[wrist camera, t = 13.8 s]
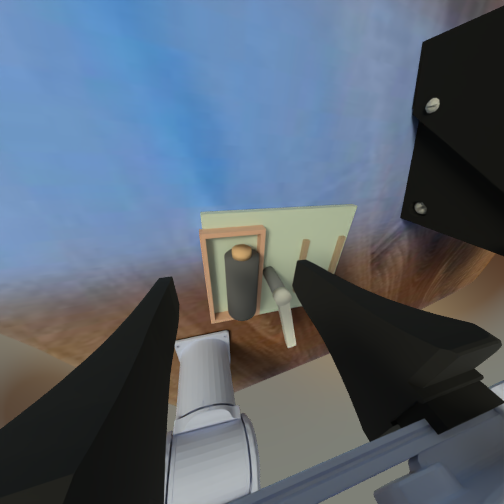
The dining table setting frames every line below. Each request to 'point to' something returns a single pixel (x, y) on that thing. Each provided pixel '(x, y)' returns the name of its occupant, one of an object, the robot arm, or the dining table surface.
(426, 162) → the electrical component
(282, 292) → the lever handle
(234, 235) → the board
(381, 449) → the robot arm
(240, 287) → the grey cylinder
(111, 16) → the dining table surface
